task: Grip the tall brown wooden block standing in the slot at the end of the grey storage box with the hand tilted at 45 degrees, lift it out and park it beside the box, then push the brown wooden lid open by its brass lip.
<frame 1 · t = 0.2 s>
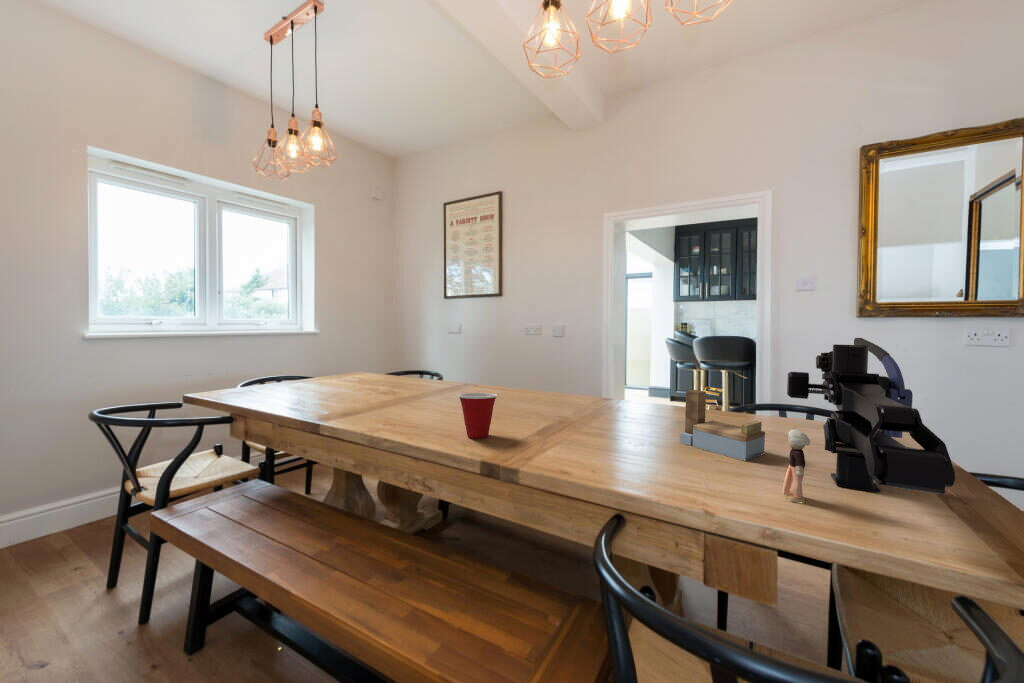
hand: (827, 383, 101), 17 cm above the table, tool horizontal, fingers open, 9 cm apart
hand press: (872, 456, 96), on the table
brown wooden block: (694, 441, 107), resting in grey storage box
lid: (728, 425, 100), point 6 cm above the table, slide at 0.0 cm
grey storage box: (727, 450, 100), on the table
plastic cup: (477, 436, 112), on the table
grandmother figurine: (794, 500, 73), on the table
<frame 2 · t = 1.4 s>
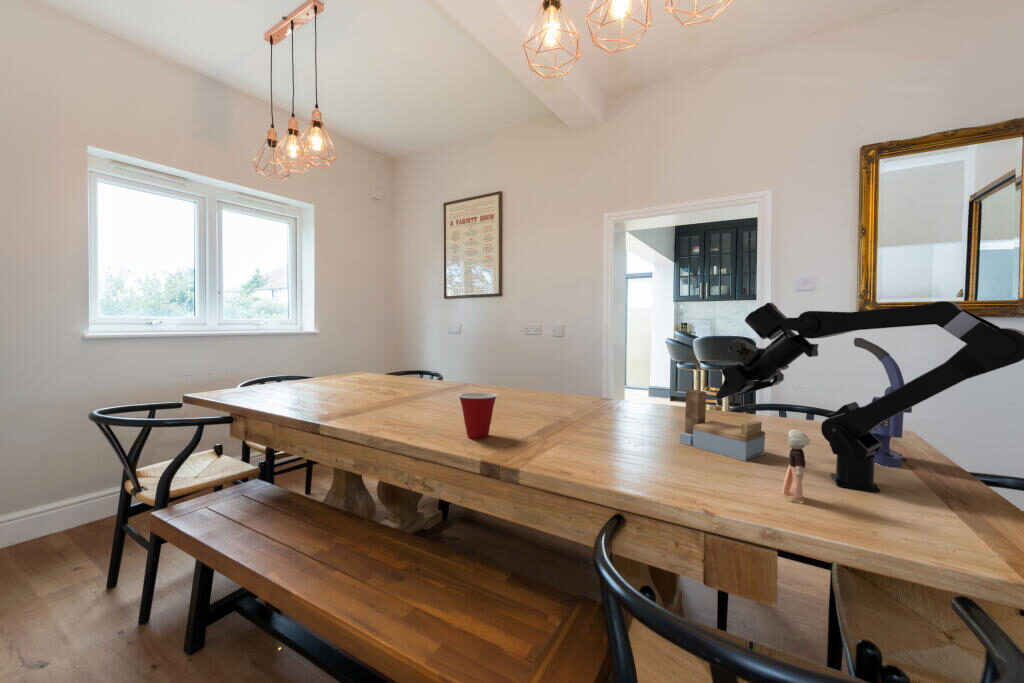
hand: (727, 395, 100), 14 cm above the table, tool tilted 45°, fingers open, 9 cm apart
nothing on the table moved.
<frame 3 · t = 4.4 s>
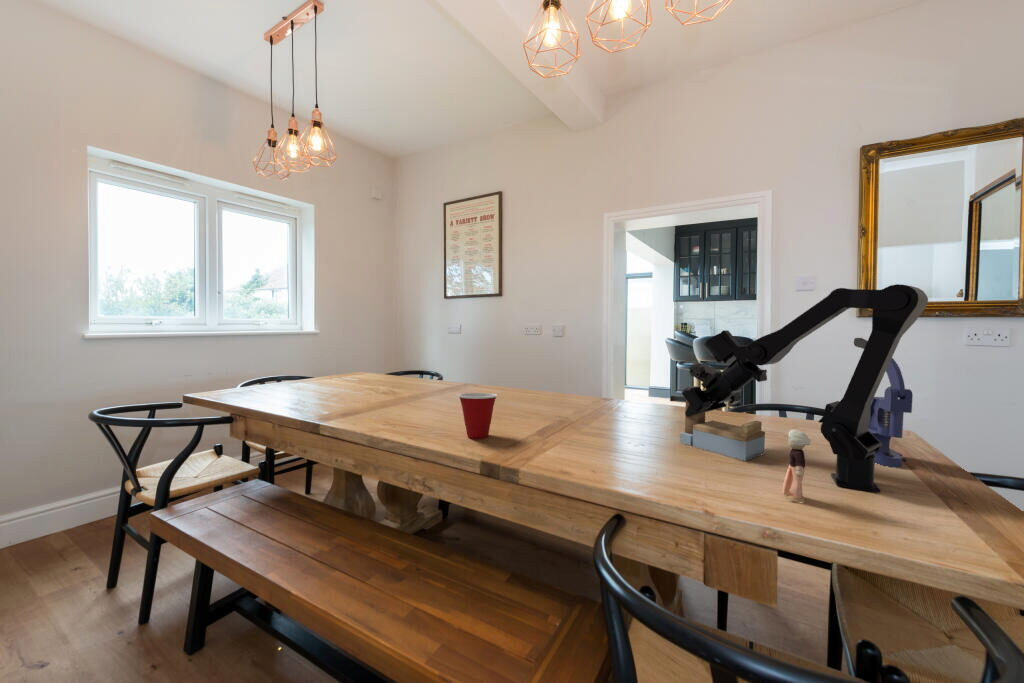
hand: (690, 414, 108), 7 cm above the table, tool tilted 45°, fingers closed on brown wooden block, 3 cm apart
brown wooden block: (694, 441, 107), resting in grey storage box, touching gripper
everything else where it was.
when the fingers open (8 cm above the table, at t = 7.1 s): brown wooden block drops 1 cm, on the table.
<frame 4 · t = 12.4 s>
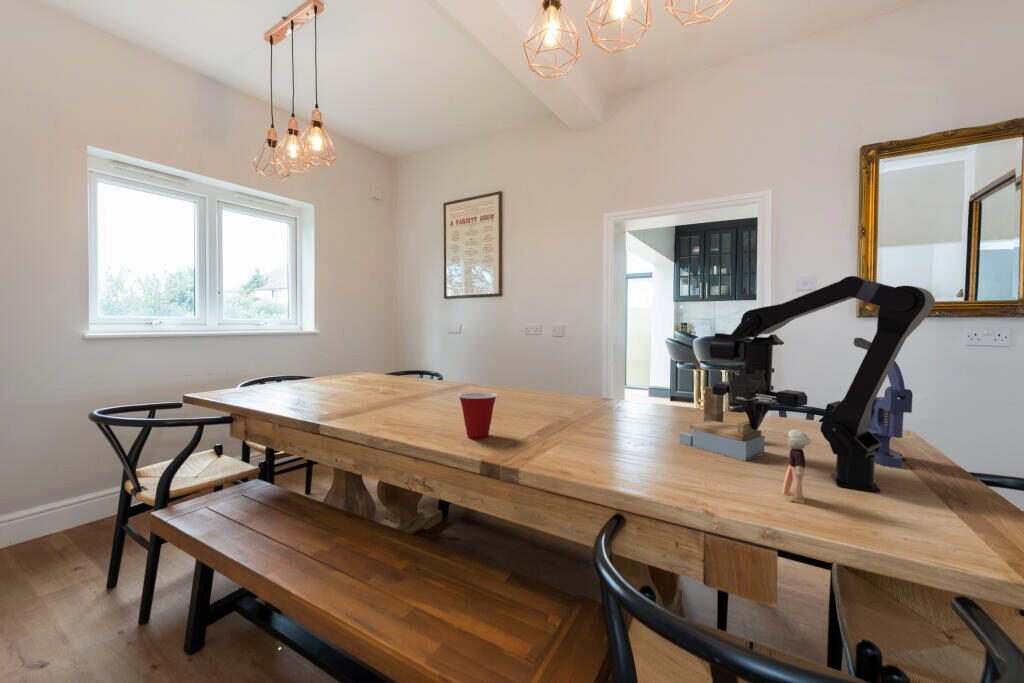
hand: (754, 429, 95), 7 cm above the table, tool pointing down, fingers closed
brown wooden block: (712, 436, 112), on the table
lid: (724, 424, 100), point 6 cm above the table, slide at 0.9 cm, touching gripper
everything else where it was.
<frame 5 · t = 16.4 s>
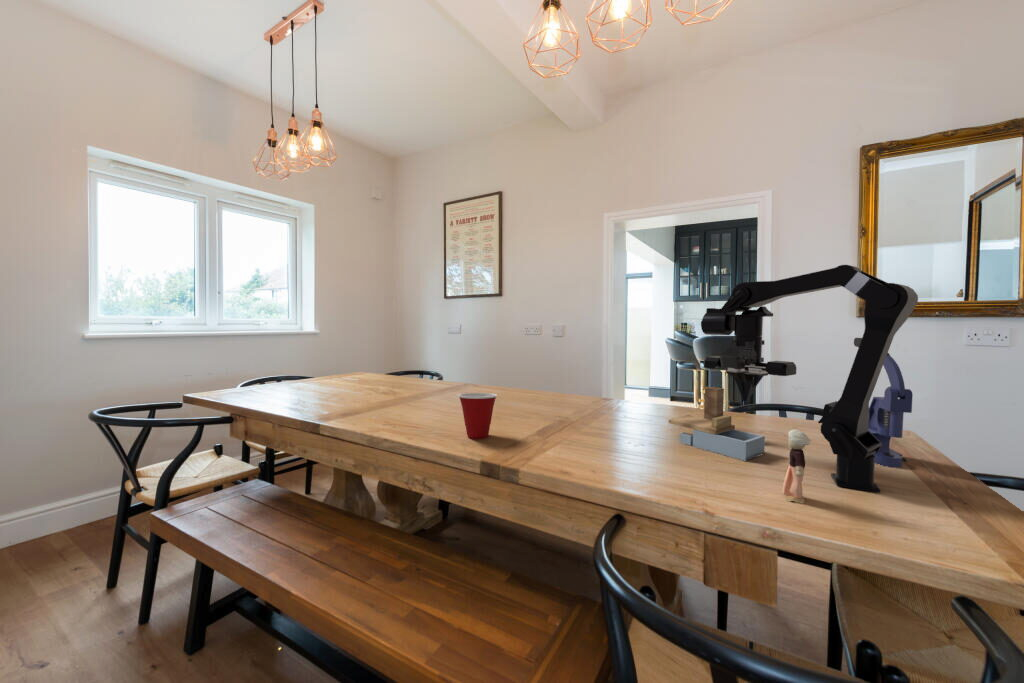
hand: (745, 401, 96), 13 cm above the table, tool pointing down, fingers closed
lid: (700, 419, 106), point 6 cm above the table, slide at 7.2 cm
everything else where it was.
at the end: brown wooden block moved 8.9 cm from its start; brown wooden block tilted 0°; lid slide at 7.2 cm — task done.
